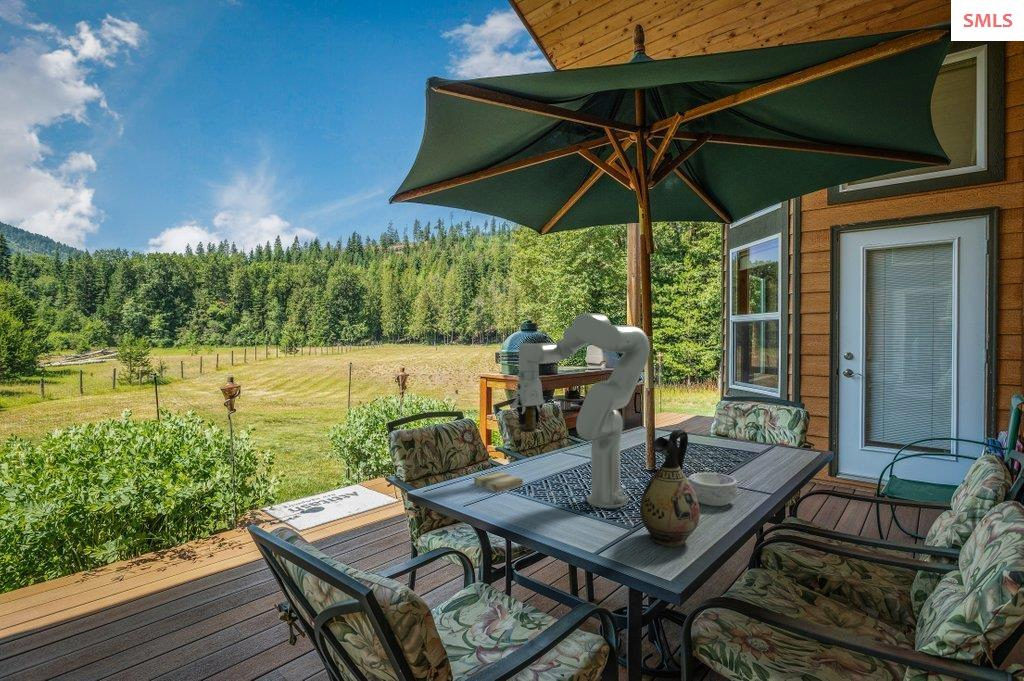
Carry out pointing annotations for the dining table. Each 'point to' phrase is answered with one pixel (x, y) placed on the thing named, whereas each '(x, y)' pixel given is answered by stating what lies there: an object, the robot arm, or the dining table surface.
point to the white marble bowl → (713, 488)
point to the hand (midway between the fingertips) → (529, 422)
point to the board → (498, 481)
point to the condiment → (529, 421)
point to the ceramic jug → (670, 496)
